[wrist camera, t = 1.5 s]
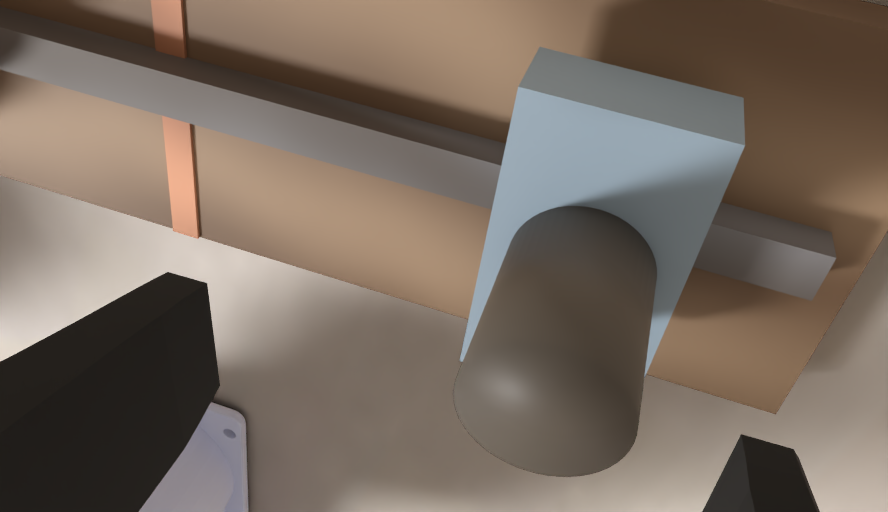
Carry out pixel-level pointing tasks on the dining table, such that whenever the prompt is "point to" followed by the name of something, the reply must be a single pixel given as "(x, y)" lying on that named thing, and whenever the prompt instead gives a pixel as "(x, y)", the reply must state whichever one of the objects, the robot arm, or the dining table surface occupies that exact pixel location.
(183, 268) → the dining table surface
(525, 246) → the handle
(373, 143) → the press bench
